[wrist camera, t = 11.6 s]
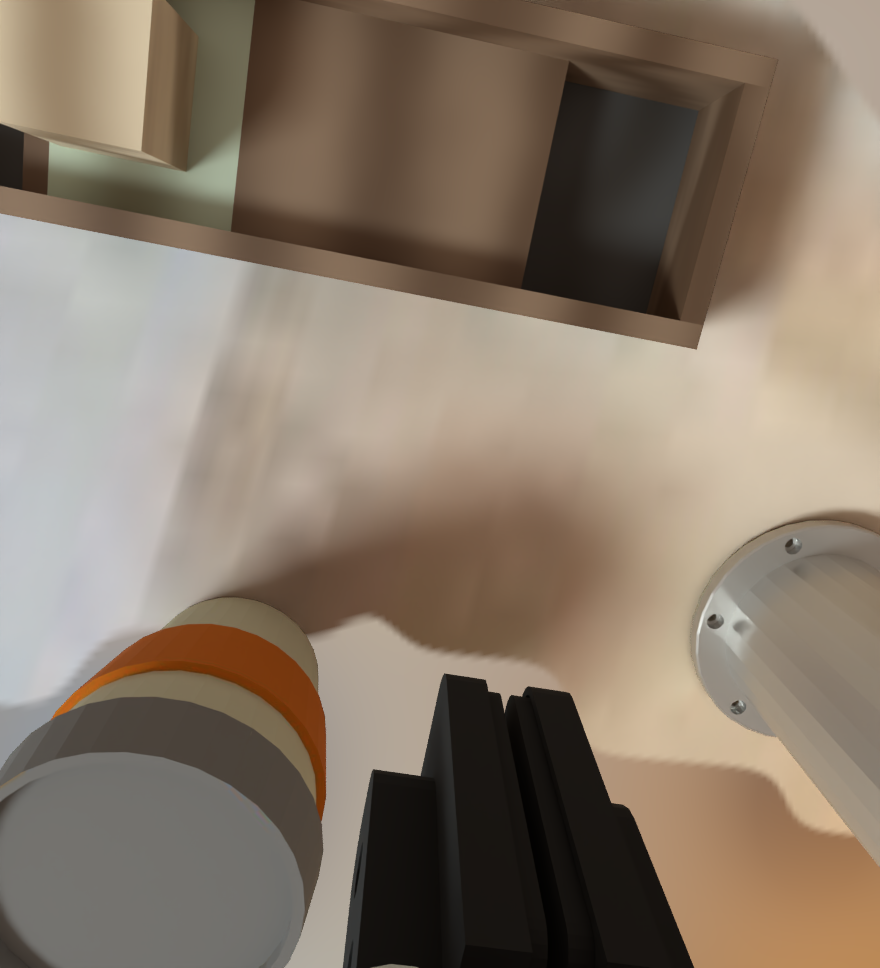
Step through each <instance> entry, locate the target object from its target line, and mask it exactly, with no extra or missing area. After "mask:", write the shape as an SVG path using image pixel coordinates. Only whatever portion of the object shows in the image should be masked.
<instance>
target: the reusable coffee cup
mask: <svg viewBox="0 0 880 968" xmlns="http://www.w3.org/2000/svg"><path fill="white" fill-rule="evenodd" d="M325 800H326V728H325V715H324V711H323V708H322V704H321V701H320V697H319V695H318V665H317V660H316V657H315V653H314V650H313V648H312V646H311V644H310V642H309V640H308V638H307V636H306V635H305V634H304V633H303V631H302V630H301V629H300V628H299V626H298V625H297V624H296V623H295V622H293V621H292V620H291V619H290V618H289V617H288V616H286V615H285V614H284V613H282V612H280V611H279V610H277V609H275V608H273V607H271V606H270V605H267V604H264V603H261V602H258V601H255V600H250V599H244V598H238V597H230V598H217V599H212V600H207V601H203V602H201V603H198V604H196V605H193V606H191V607H189V608H188V609H186V610H185V611H183V612H182V613H180V614H179V615H177V616H176V617H175V618H174V619H173V620H171V621H170V622H169V623H168V624H167V625H166V626H165V627H163V628H162V629H161V630H160V631H158V632H155V633H153V634H150V635H148V636H145V637H143V638H142V639H140V640H139V641H137V642H136V643H134V644H133V645H131V646H129V647H128V648H126V649H125V650H124V651H123V652H121V653H120V654H119V655H118V656H117V657H116V658H114V659H113V660H112V661H111V662H110V663H109V664H107V665H106V666H105V667H104V668H103V669H101V670H100V671H99V672H98V673H97V674H96V675H95V676H93V677H92V678H91V679H90V680H89V681H88V682H86V683H85V684H84V685H83V686H81V687H80V688H79V689H78V690H77V691H76V692H75V693H73V694H72V696H71V697H70V698H69V699H68V700H67V701H66V702H65V703H64V704H63V705H62V706H61V707H60V708H59V709H58V710H57V711H56V712H55V714H54V716H53V718H52V719H51V720H50V721H49V722H47V723H46V724H44V725H43V726H41V727H40V728H38V729H37V730H35V731H34V732H32V733H31V734H30V735H29V736H28V737H27V738H26V739H25V740H24V741H23V742H22V743H21V744H20V745H19V746H18V747H17V748H16V749H15V750H14V751H13V752H12V754H11V755H10V756H9V758H8V759H7V761H6V762H5V764H4V765H3V767H2V768H1V770H0V968H284V967H285V966H286V965H287V963H288V962H289V960H290V958H291V956H292V954H293V952H294V949H295V947H296V945H297V943H298V940H299V938H300V936H301V932H302V929H303V926H304V923H305V919H306V916H307V913H308V909H309V906H310V903H311V899H312V896H313V893H314V890H315V886H316V883H317V880H318V876H319V871H320V866H321V860H322V855H323V840H322V839H323V838H322V824H321V821H322V816H323V811H324V805H325Z"/></svg>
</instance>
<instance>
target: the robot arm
mask: <svg viewBox="0 0 880 968" xmlns="http://www.w3.org/2000/svg"><path fill="white" fill-rule="evenodd" d="M787 541H788V543H787ZM711 615H712V616H711ZM710 616H711V617H710ZM690 644H691V657H692V661H693V664H694V668H695V672H696V675H697V677H698V678H699V680H700V682H701V684H702V686H703V688H704V690H705V691H706V693H707V694H708V695H709V697H710V698H711V699H712V701H713V702H714V703H715V705H716V706H717V707H718V708H719V709H720V710H721V711H722V712H723V713H724V714H725V715H726V716H727V717H728V718H730V719H731V720H733V721H735V722H736V723H738V724H740V725H741V726H743V727H745V728H746V729H749V730H751V731H754V732H757V733H760V734H763V735H766V736H772V737H778V739H779V740H780V741H781V743H782V744H783V745H784V746H785V748H786V749H787V750H788V751H789V753H790V754H791V755H792V756H793V758H794V759H795V760H796V762H797V763H798V764H799V765H800V767H801V768H802V769H803V770H804V772H805V773H806V774H807V776H808V777H809V778H810V779H811V781H812V782H813V783H814V784H815V786H816V787H817V788H818V790H819V791H820V792H821V793H822V795H823V796H824V797H825V798H826V800H827V801H828V802H829V804H830V805H831V806H832V807H833V809H834V810H835V811H836V812H837V814H838V815H839V816H840V818H841V819H842V820H843V821H844V823H845V824H846V825H847V826H848V828H849V829H850V830H851V832H852V833H853V834H854V835H855V837H856V838H857V839H858V840H859V842H860V843H861V844H862V846H863V847H864V848H865V849H866V851H867V852H868V853H869V854H870V856H871V857H872V858H873V860H874V861H875V862H876V863H877V865H878V866H879V867H880V535H879V534H877V533H875V532H873V531H871V530H868V529H866V528H863V527H861V526H858V525H856V524H851V523H846V522H840V521H834V520H812V521H805V522H800V523H795V524H790V525H786V526H783V527H781V528H778V529H775V530H773V531H770V532H767V533H765V534H763V535H761V536H760V537H758V538H756V539H755V540H753V541H751V542H749V543H748V544H746V545H744V546H743V547H742V548H741V549H740V550H738V551H737V552H736V553H735V554H733V555H732V556H731V557H730V558H729V559H727V560H726V562H725V563H724V564H723V565H722V566H721V567H720V569H719V570H718V571H717V572H716V573H715V574H714V575H713V577H712V578H711V580H710V581H709V583H708V585H707V586H706V588H705V590H704V591H703V593H702V595H701V597H700V599H699V602H698V605H697V607H696V610H695V613H694V616H693V621H692V628H691V634H690ZM343 968H694V966H693V964H692V961H691V959H690V956H689V954H688V951H687V949H686V946H685V944H684V941H683V939H682V936H681V934H680V932H679V929H678V927H677V924H676V922H675V919H674V916H673V914H672V911H671V909H670V906H669V904H668V902H667V899H666V897H665V894H664V892H663V889H662V886H661V884H660V881H659V879H658V877H657V874H656V872H655V869H654V867H653V864H652V862H651V859H650V857H649V854H648V852H647V849H646V847H645V844H644V842H643V839H642V837H641V834H640V832H639V829H638V827H637V824H636V822H635V819H634V817H633V816H632V814H631V812H630V810H629V809H628V808H627V807H625V806H624V805H621V804H614V803H611V801H610V798H609V796H608V793H607V790H606V788H605V785H604V782H603V780H602V777H601V774H600V772H599V769H598V766H597V763H596V761H595V758H594V755H593V752H592V750H591V747H590V744H589V742H588V739H587V736H586V733H585V731H584V728H583V725H582V723H581V720H580V717H579V715H578V712H577V709H576V706H575V704H574V701H573V698H572V696H571V695H570V693H567V692H561V691H555V690H548V689H542V688H535V687H527V688H526V689H525V691H524V693H523V696H522V697H521V696H514V695H511V696H510V697H509V700H508V702H507V706H506V710H505V714H504V708H503V704H502V699H501V695H500V694H499V693H494V692H488V687H487V683H486V680H483V679H477V678H470V677H464V676H457V675H450V674H444V675H443V677H442V680H441V684H440V688H439V693H438V697H437V702H436V707H435V711H434V716H433V721H432V725H431V730H430V735H429V739H428V744H427V749H426V753H425V758H424V763H423V767H422V772H421V776H416V775H409V774H402V773H395V772H387V771H381V770H373V771H372V774H371V778H370V782H369V787H368V792H367V798H366V803H365V808H364V813H363V818H362V824H361V829H360V835H359V841H358V847H357V854H356V860H355V868H354V874H353V882H352V890H351V898H350V907H349V917H348V926H347V935H346V944H345V953H344V962H343Z"/></svg>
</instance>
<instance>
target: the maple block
mask: <svg viewBox="0 0 880 968" xmlns="http://www.w3.org/2000/svg"><path fill="white" fill-rule="evenodd" d="M198 39H199V37H198V35H197V34H196V33H195V32H194V31H193V30H192V29H191V28H190V27H189V25H188V24H187V23H186V22H185V21H184V20H183V19H182V18H181V17H180V15H179V14H178V13H177V12H176V11H175V10H174V9H173V8H172V7H171V5H170V4H169V3H168V2H167V1H166V0H0V123H1V124H3V125H6V126H9V127H11V128H14V129H17V130H19V131H22V132H25V133H27V134H30V135H33V136H35V137H38V138H41V139H43V140H46V141H49V142H51V143H54V144H57V145H59V146H63V147H67V148H72V149H77V150H82V151H87V152H92V153H96V154H101V155H106V156H111V157H116V158H121V159H125V160H130V161H135V162H140V163H145V164H150V165H154V166H159V167H164V168H169V169H174V170H179V171H183V172H186V170H187V159H188V148H189V137H190V126H191V116H192V105H193V94H194V83H195V72H196V61H197V50H198Z"/></svg>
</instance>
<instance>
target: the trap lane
mask: <svg viewBox="0 0 880 968" xmlns="http://www.w3.org/2000/svg"><path fill="white" fill-rule="evenodd" d="M166 1H167V2H168V3H169V4H170V5H171V7H172V8H173V9H174V10H175V11H176V12H177V13H178V14H179V15H180V17H181V18H182V19H183V20H184V21H185V22H186V23H187V24H188V25H189V27H190V28H191V29H192V30H193V31H194V32H195V33H196V34H197V35H198V37H199V39H198V50H197V61H196V72H195V83H194V94H193V105H192V116H191V126H190V137H189V148H188V159H187V170H186V172H183V171H179V170H174V169H169V168H164V167H159V166H154V165H150V164H145V163H140V162H135V161H130V160H125V159H121V158H116V157H111V156H106V155H101V154H96V153H92V152H87V151H82V150H77V149H72V148H67V147H63V146H59V145H57V144H54V143H51V142H49V141H46V140H43V139H41V138H38V137H35V136H33V135H30V134H27V133H25V132H22V131H19V130H17V129H14V128H11V127H9V126H6V125H3V124H1V123H0V213H1V214H7V215H12V216H17V217H22V218H27V219H32V220H37V221H42V222H47V223H53V224H58V225H63V226H68V227H73V228H78V229H83V230H88V231H94V232H99V233H104V234H109V235H114V236H119V237H124V238H129V239H134V240H140V241H145V242H150V243H155V244H160V245H165V246H170V247H175V248H180V249H186V250H191V251H196V252H201V253H206V254H211V255H216V256H221V257H227V258H232V259H237V260H242V261H247V262H252V263H257V264H262V265H267V266H273V267H278V268H283V269H288V270H293V271H298V272H303V273H308V274H314V275H319V276H324V277H329V278H334V279H339V280H344V281H349V282H354V283H360V284H365V285H370V286H375V287H380V288H385V289H390V290H395V291H401V292H406V293H411V294H416V295H421V296H426V297H431V298H436V299H441V300H447V301H452V302H457V303H462V304H467V305H472V306H477V307H482V308H487V309H493V310H498V311H503V312H508V313H513V314H518V315H523V316H528V317H534V318H539V319H544V320H549V321H554V322H559V323H564V324H569V325H574V326H580V327H585V328H590V329H595V330H600V331H605V332H610V333H615V334H621V335H626V336H631V337H636V338H641V339H646V340H651V341H656V342H661V343H667V344H672V345H677V346H682V347H687V348H692V349H697V346H698V342H699V339H700V335H701V332H702V328H703V325H704V321H705V318H706V314H707V310H708V307H709V303H710V300H711V296H712V293H713V289H714V286H715V282H716V278H717V275H718V271H719V268H720V264H721V261H722V257H723V254H724V250H725V247H726V243H727V239H728V236H729V232H730V229H731V225H732V222H733V218H734V215H735V211H736V207H737V204H738V200H739V197H740V193H741V190H742V186H743V183H744V179H745V176H746V172H747V168H748V165H749V161H750V158H751V154H752V151H753V147H754V144H755V140H756V136H757V133H758V129H759V126H760V122H761V119H762V115H763V112H764V108H765V105H766V101H767V97H768V94H769V90H770V87H771V83H772V80H773V76H774V73H775V69H776V65H777V62H778V59H774V58H769V57H765V56H761V55H756V54H752V53H748V52H743V51H739V50H735V49H730V48H726V47H722V46H717V45H713V44H709V43H704V42H700V41H696V40H691V39H687V38H683V37H678V36H674V35H670V34H665V33H661V32H657V31H652V30H648V29H644V28H639V27H635V26H631V25H626V24H622V23H618V22H613V21H609V20H605V19H600V18H596V17H592V16H587V15H583V14H579V13H574V12H570V11H566V10H561V9H557V8H553V7H549V6H544V5H540V4H536V3H531V2H527V1H523V0H166Z"/></svg>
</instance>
